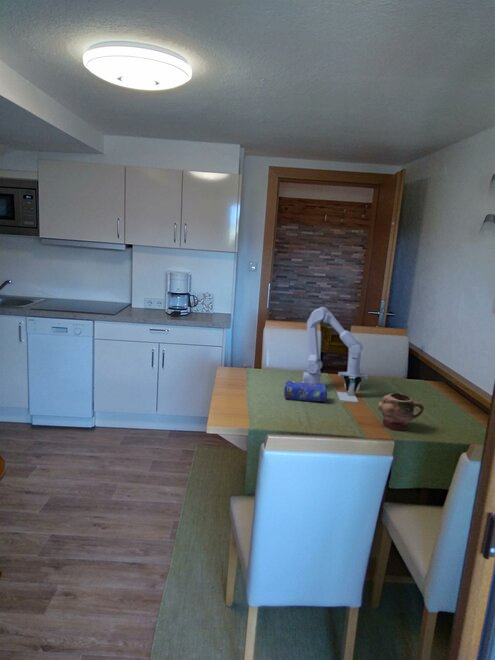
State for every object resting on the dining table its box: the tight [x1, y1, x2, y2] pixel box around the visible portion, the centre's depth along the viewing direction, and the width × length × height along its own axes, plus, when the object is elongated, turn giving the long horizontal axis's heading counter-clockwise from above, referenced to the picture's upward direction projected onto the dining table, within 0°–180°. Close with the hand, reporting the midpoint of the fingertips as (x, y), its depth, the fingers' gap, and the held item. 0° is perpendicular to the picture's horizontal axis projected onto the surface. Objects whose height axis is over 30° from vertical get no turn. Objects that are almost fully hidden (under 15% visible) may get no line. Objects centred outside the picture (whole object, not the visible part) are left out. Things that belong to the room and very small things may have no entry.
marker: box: [347, 378, 356, 396], centre depth 228 cm, size 4×4×8 cm
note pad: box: [336, 390, 359, 404], centre depth 226 cm, size 9×13×1 cm
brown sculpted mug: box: [376, 392, 425, 431], centre depth 193 cm, size 20×12×14 cm, turn 93°
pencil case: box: [282, 379, 328, 403], centre depth 218 cm, size 22×9×10 cm, turn 85°
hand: (350, 390), depth 228 cm, fingers closed on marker, 3 cm apart
